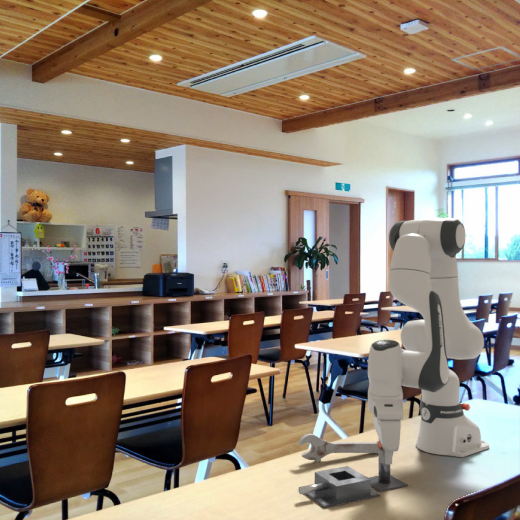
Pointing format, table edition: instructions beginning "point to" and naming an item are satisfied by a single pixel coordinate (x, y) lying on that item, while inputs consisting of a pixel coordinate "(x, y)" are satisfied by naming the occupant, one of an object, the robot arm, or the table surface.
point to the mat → (384, 487)
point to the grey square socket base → (339, 487)
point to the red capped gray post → (383, 466)
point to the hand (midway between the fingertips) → (385, 456)
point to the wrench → (333, 447)
